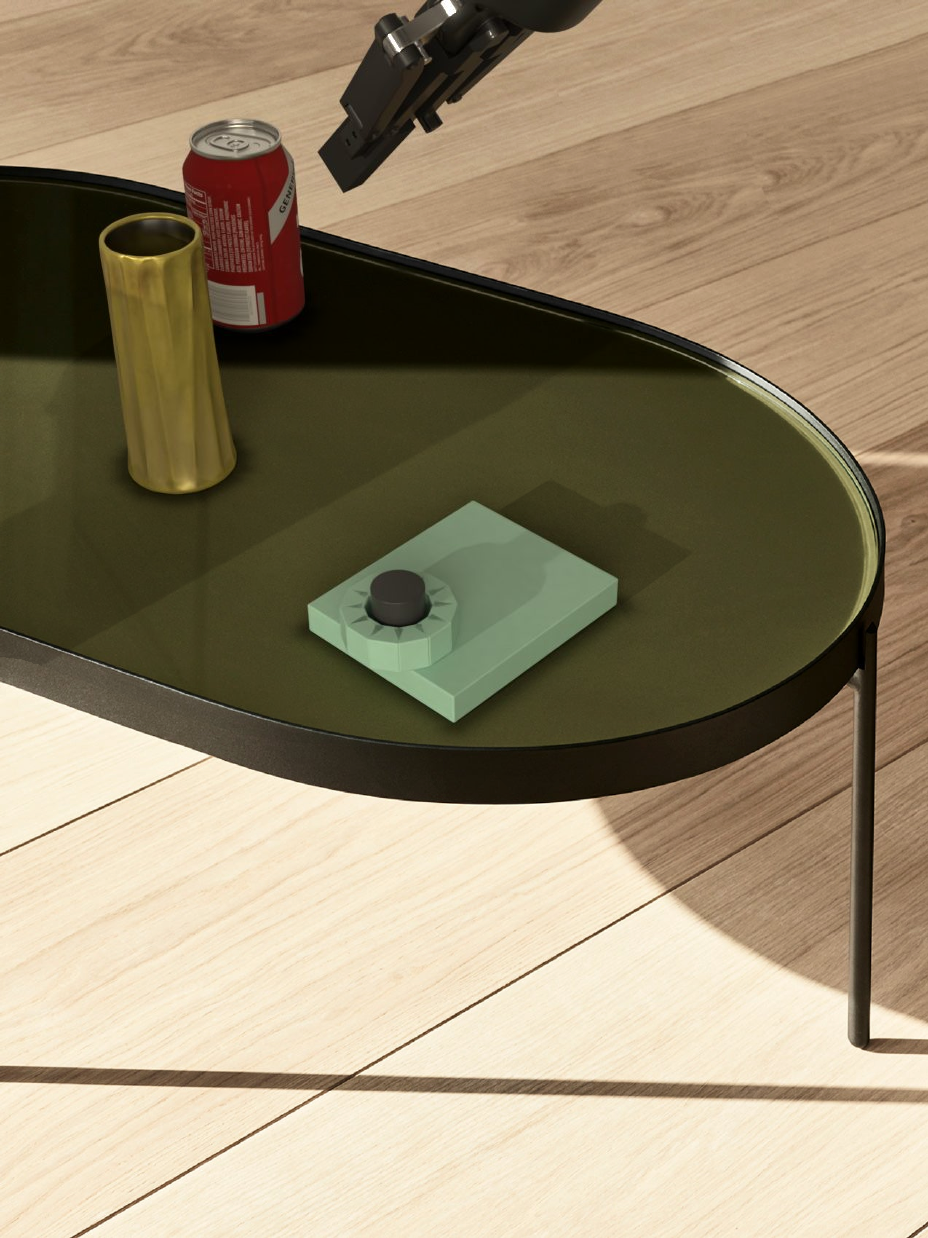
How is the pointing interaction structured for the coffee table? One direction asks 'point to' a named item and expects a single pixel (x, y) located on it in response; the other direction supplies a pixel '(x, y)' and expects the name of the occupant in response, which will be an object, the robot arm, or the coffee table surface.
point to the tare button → (398, 598)
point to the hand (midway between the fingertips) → (340, 167)
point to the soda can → (246, 223)
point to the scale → (468, 609)
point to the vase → (166, 353)
